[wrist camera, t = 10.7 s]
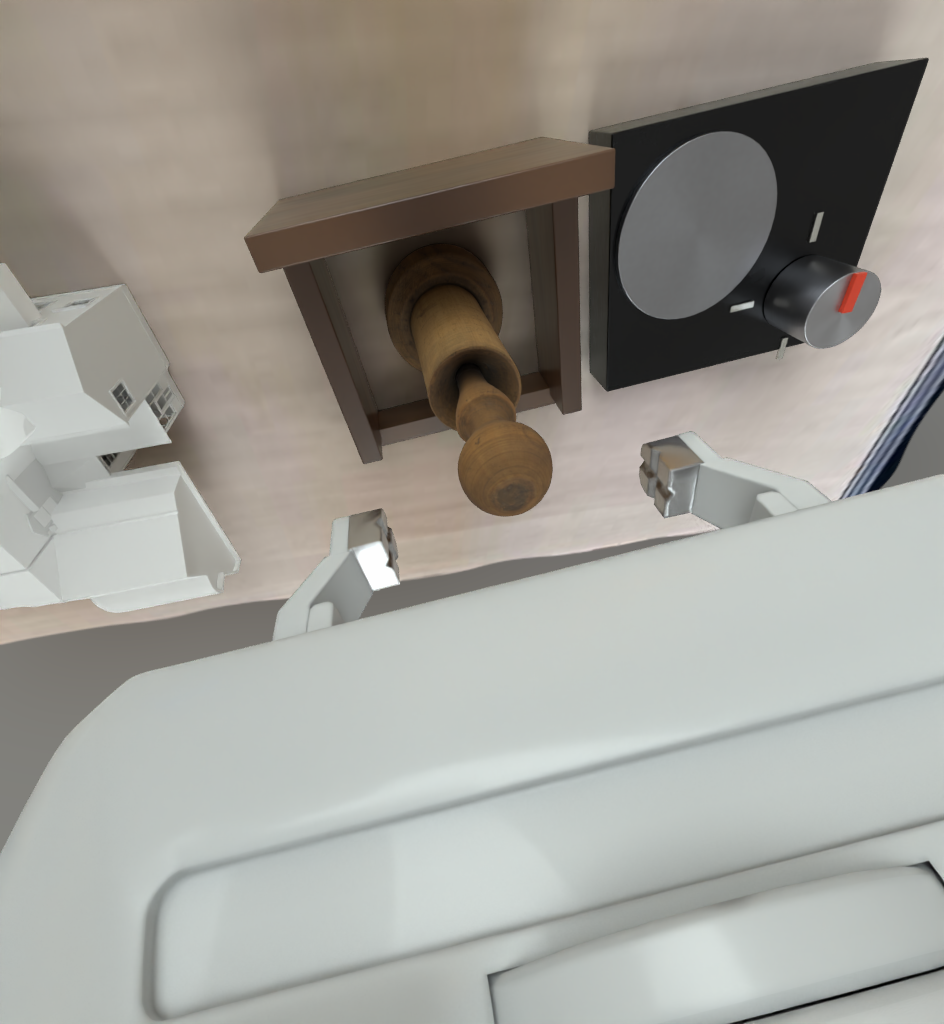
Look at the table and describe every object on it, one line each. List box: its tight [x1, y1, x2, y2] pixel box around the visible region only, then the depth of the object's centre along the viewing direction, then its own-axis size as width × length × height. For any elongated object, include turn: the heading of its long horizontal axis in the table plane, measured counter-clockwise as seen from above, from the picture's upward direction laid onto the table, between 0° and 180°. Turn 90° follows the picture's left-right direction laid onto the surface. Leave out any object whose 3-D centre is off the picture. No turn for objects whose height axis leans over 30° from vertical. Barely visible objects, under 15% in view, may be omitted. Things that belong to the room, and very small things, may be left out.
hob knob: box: [764, 255, 881, 349], centre depth 26 cm, size 4×4×4 cm
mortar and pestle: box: [385, 244, 553, 516], centre depth 21 cm, size 7×6×18 cm
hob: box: [589, 58, 929, 391], centre depth 27 cm, size 16×14×3 cm
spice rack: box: [244, 137, 615, 464], centre depth 24 cm, size 13×13×9 cm
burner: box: [615, 131, 777, 319], centre depth 24 cm, size 8×8×1 cm
